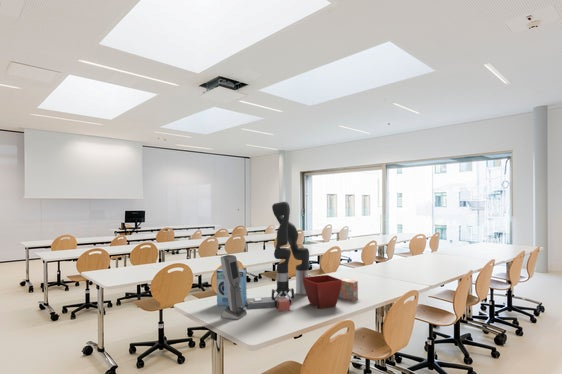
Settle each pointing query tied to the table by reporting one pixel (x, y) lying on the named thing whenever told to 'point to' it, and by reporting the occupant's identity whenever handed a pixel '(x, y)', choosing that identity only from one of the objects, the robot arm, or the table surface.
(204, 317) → the table surface
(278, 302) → the cap
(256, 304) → the breaker panel
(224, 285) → the gum box
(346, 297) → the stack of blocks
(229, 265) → the thermal camera
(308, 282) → the plant pot
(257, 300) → the block
